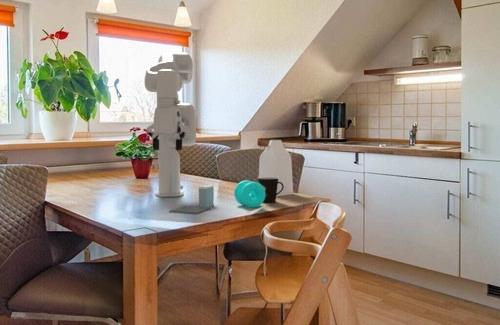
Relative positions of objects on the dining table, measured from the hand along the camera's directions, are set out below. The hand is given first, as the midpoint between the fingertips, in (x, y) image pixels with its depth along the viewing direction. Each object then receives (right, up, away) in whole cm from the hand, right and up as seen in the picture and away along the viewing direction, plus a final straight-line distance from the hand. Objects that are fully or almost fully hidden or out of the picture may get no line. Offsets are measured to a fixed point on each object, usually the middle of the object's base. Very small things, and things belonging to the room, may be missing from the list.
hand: (167, 150), depth 176 cm
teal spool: (+31, -22, +10) cm, 39 cm away
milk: (+43, -20, +45) cm, 65 cm away
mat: (+9, -22, -1) cm, 24 cm away
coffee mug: (+39, -22, +22) cm, 50 cm away
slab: (+14, -22, +10) cm, 28 cm away
